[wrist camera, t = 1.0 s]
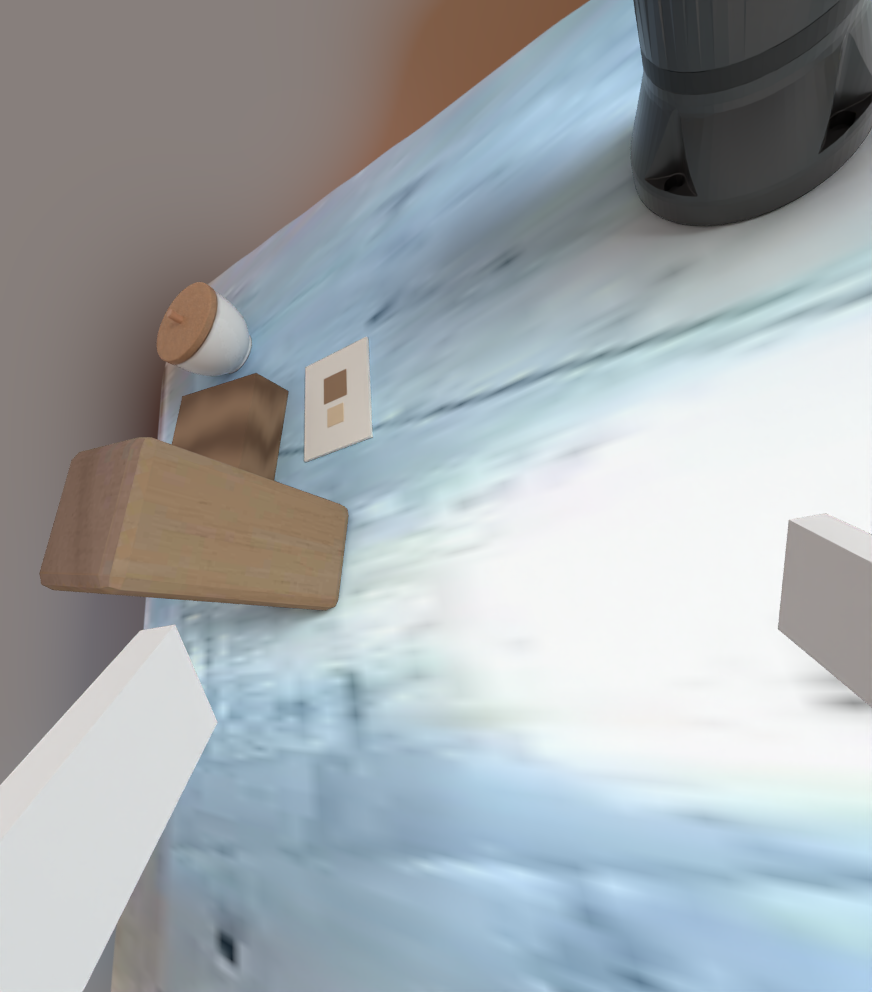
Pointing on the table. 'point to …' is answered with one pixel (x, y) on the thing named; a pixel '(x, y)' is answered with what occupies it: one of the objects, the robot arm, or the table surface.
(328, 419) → the page
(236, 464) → the base brick
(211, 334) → the lidded jar
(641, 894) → the table surface
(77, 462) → the wooden block
